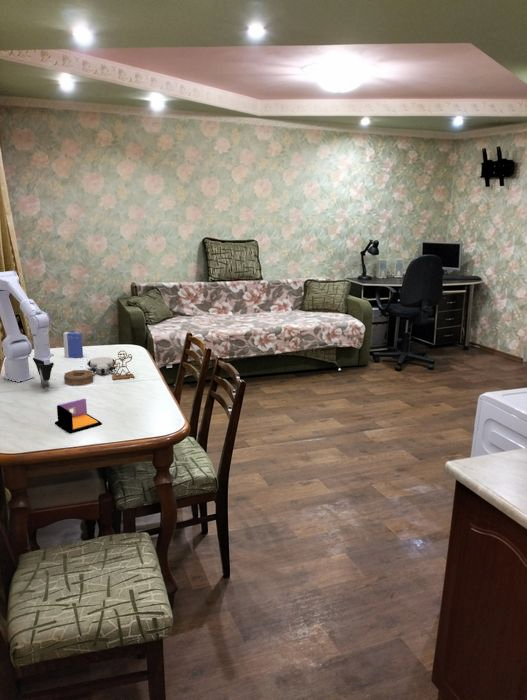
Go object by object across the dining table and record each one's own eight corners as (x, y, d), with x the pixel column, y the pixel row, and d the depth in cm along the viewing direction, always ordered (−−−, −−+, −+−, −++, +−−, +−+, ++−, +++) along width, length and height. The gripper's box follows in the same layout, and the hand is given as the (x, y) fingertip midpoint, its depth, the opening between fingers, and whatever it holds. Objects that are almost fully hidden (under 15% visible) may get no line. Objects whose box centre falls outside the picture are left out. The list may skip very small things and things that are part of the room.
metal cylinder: (39, 386, 216) (37, 367, 214) (45, 384, 219) (43, 365, 217) (44, 388, 215) (42, 368, 213) (50, 386, 217) (49, 367, 215)
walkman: (83, 356, 258) (81, 332, 254) (80, 358, 255) (79, 333, 252) (67, 355, 258) (65, 331, 255) (64, 357, 256) (62, 332, 252)
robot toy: (118, 377, 233) (115, 364, 247) (117, 367, 232) (115, 355, 245) (88, 379, 230) (87, 366, 243) (87, 369, 228) (86, 357, 241)
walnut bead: (58, 382, 222) (58, 375, 221) (79, 375, 231) (79, 368, 231) (78, 387, 217) (77, 380, 216) (98, 379, 226) (98, 372, 226)
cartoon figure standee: (113, 380, 226) (111, 352, 223) (111, 377, 230) (110, 350, 227) (134, 378, 230) (133, 351, 226) (133, 375, 233) (132, 348, 230)
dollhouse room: (53, 423, 183) (51, 404, 181) (86, 414, 191) (85, 396, 189) (69, 435, 175) (68, 415, 173) (103, 425, 183) (102, 406, 181)
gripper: (56, 347, 209) (59, 380, 212) (47, 339, 220) (50, 371, 224) (37, 349, 205) (40, 383, 208) (29, 341, 216) (32, 373, 220)
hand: (44, 377), depth 216 cm, fingers open, 7 cm apart
